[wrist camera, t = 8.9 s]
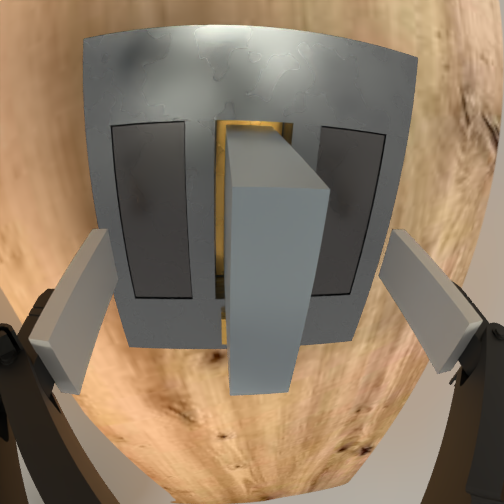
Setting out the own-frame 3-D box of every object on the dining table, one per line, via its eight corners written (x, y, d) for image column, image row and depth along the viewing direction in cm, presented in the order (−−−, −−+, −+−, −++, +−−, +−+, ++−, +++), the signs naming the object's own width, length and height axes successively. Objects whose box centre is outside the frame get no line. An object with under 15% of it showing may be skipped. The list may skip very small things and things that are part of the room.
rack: (96, 45, 13) (66, 40, 10) (397, 59, 15) (433, 61, 12) (129, 316, 24) (119, 352, 20) (346, 312, 26) (361, 345, 22)
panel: (225, 124, 16) (232, 186, 8) (271, 125, 16) (330, 189, 8) (223, 263, 21) (229, 395, 12) (261, 263, 21) (288, 392, 13)
